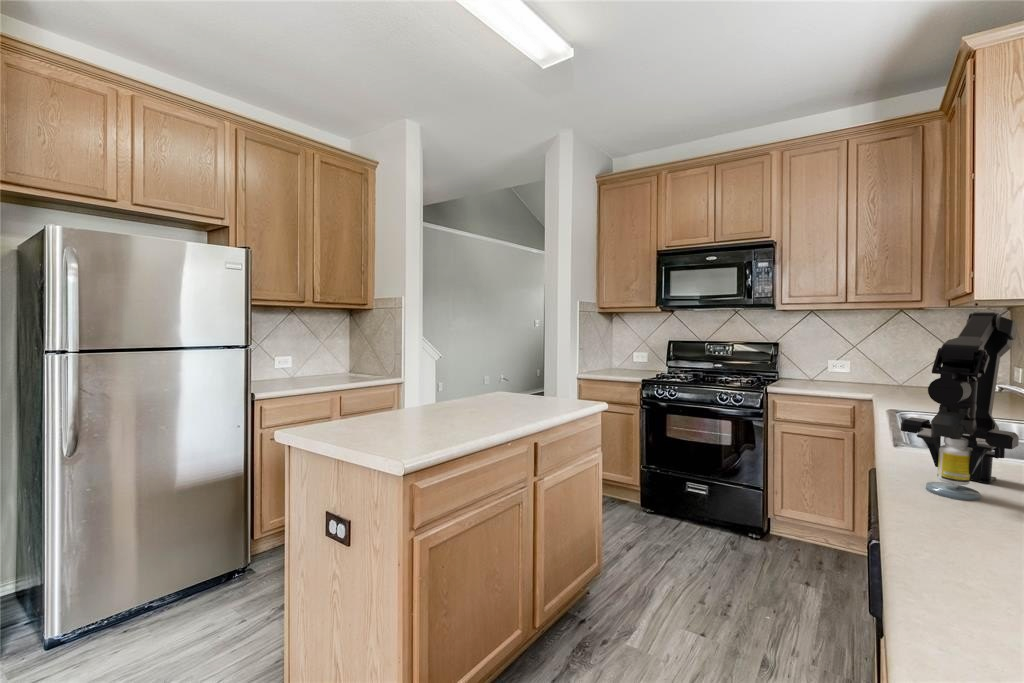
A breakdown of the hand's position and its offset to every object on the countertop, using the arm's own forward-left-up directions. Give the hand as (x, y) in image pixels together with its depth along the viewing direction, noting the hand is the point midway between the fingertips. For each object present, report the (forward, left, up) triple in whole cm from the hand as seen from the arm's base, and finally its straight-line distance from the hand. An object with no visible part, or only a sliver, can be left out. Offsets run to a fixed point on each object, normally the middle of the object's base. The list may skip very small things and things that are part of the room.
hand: (953, 470), depth 110 cm
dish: (0, 0, -5) cm, 5 cm away
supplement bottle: (0, 0, -3) cm, 3 cm away
